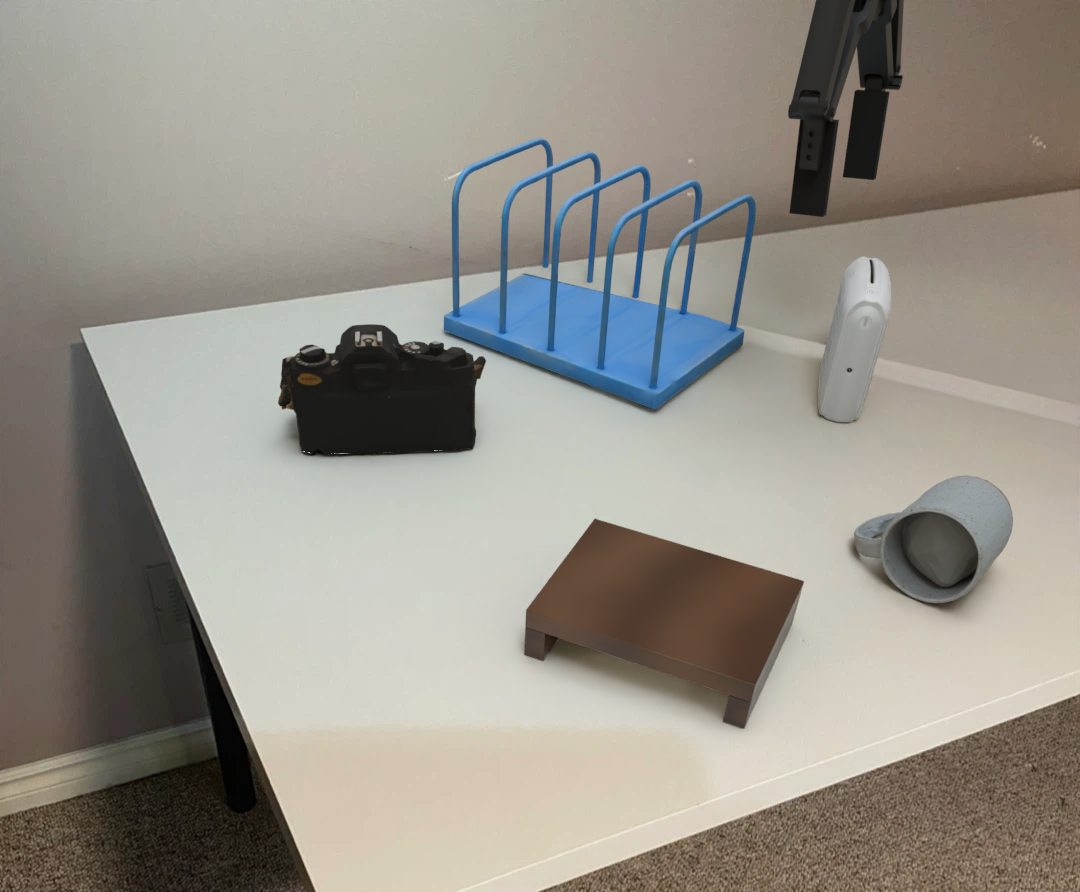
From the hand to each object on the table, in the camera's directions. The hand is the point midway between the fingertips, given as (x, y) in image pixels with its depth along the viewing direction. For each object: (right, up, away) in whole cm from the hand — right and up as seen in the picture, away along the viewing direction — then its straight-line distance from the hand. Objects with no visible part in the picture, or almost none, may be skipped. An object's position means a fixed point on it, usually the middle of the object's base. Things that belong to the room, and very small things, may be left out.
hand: (834, 195), depth 88 cm
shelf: (-16, -37, -12) cm, 42 cm away
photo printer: (+4, -12, +14) cm, 19 cm away
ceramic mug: (+5, -32, -4) cm, 32 cm away
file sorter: (-19, -5, +20) cm, 28 cm away
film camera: (-38, -18, +7) cm, 43 cm away
